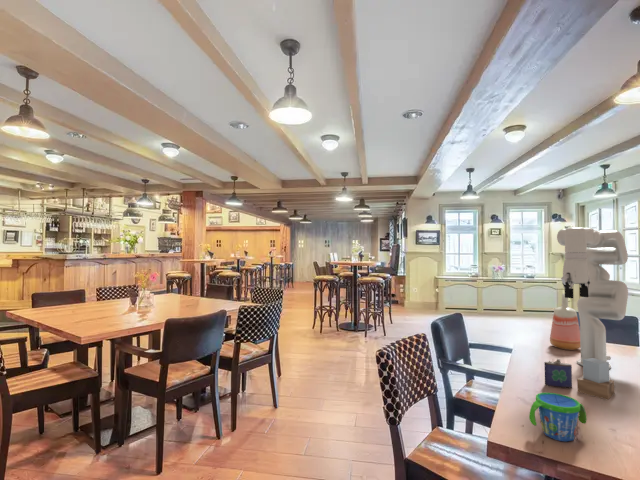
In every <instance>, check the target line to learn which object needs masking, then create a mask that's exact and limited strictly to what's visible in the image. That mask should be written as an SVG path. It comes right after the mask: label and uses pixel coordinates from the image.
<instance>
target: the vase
mask: <svg viewBox="0 0 640 480" xmlns="http://www.w3.org/2000/svg"><path fill="white" fill-rule="evenodd" d="M578 318H579V317H578V314H577V311H576V309H574V308H572V307H570V305H569V298H565V293H562V294H561V306H558V307H555V308H554V310H553V316H552V320H551V322H552V323H551V327H550V328H551V329H550V334H549V342H550V344H551V345H552V346H553V347H555V348H557V349H561V350H567V351H576V350H579V349H581V346H580V322H579V319H578Z"/></svg>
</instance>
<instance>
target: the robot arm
mask: <svg viewBox="0 0 640 480" xmlns="http://www.w3.org/2000/svg"><path fill="white" fill-rule="evenodd" d="M556 240H557V242H558V244H559V245H561V246H564V261H563V266H562V267H563V268H562V277H561V278H560V280H561V282H562V283H561V284H562V285H563V288H564V294H565V298H568V299H574V288H573V287H574V286H575V285H579V297H580V298H578V300H577V302H576V303H577V304H576V306H577V311H578V318H579V329H580V346H581V348H580V358H578V359H576V364H578V365H580V366H582V367H583V359H590V358H594V359H598V360H602V361H606V362H608V361H609V360H611V358H612V357H611V356H610V355H607V330H606V329H607V328H606V326H605V324H604V323H603V322H602V321H601V320H600V319H603V320H613V321H621V320H623V319H624V318H625V316H626V313H627V304H628V299H629V288H628V285H627V284H626V283H625V282H623V281H621V280H612V279H611V276H610V275H611V274H610V273H609V272H608V271H607V269H605V268H604V267H602V266H601V265H606V266H609V265H613V266H621V265H622V266H623V265H626V263H627V262H628V259H629V256H628V251H627V247H626V242H625V239H624V236H623V235H622V232H620V231H618V230H615V229H613V230H595V229H594V228H590V227H568V228H562V229H560V230H559V231H558V232H557V234H556ZM611 368H612V365H611V363H609V370H610V369H611Z"/></svg>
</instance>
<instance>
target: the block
mask: <svg viewBox="0 0 640 480" xmlns="http://www.w3.org/2000/svg"><path fill="white" fill-rule="evenodd" d="M576 382H577V383H576V385H577V393H580V394H585V395H588V396H592V397H596V398H600V399H603V400H606V401H607V400H609V399H610V398H612V397H613V396H614V395H615V393H616V392H615V390H616V389H615V388H616V387H615V380H614V379H609V382H604V383H597V382H594V381H590V380H587V379H584V378H583V375H581V376H579V378H577V381H576Z"/></svg>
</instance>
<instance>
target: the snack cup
mask: <svg viewBox="0 0 640 480" xmlns="http://www.w3.org/2000/svg"><path fill="white" fill-rule="evenodd" d="M537 410H538V413H539V419H540V423H541V424H540V425H541V430H542V432H543V433H544V435H545V436H546V437H548V438H550V439H553V440H555V441H559V442H570V441H574V440H575V437H576V431H577V425H578V424H577V423H578V421H579V423H582V424H584V425H585V424H586V423H587V422H588V421H587V420H588V419H587V413H586V410H585V406H584V405H583V404H582V403H580V402H579V401H578V400H576V399H575V398H573V397H570V396H567V395H565V394H561V393H556V392H540V393H537V394H536V395H535V401H534V402H533V403H532V404H531V406H530V411H529V417H528V419H529V422H530V423H531V424H532V425H534V426H538V425H537V419H536V411H537Z"/></svg>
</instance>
